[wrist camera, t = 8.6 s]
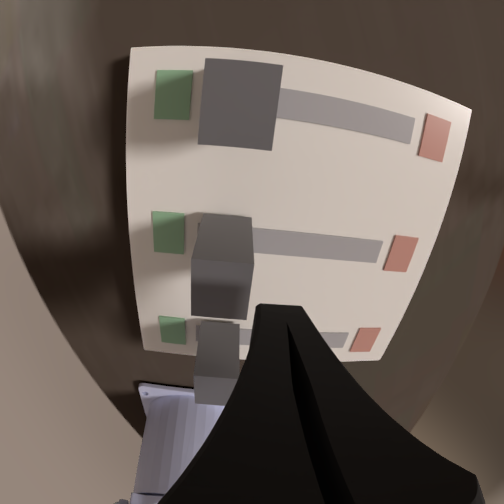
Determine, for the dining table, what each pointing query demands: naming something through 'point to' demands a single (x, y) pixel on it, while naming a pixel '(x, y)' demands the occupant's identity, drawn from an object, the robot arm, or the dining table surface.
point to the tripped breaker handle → (222, 267)
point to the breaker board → (283, 194)
